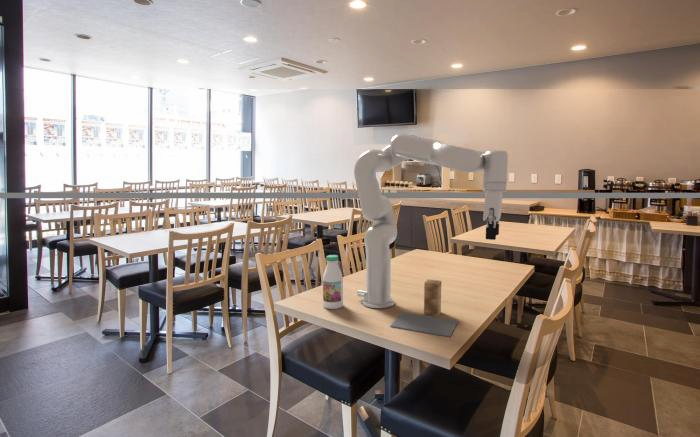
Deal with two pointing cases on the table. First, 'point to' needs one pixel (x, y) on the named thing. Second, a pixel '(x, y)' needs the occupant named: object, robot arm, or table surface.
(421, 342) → the table surface
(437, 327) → the charcoal mat
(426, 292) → the cardboard box
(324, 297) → the milk bottle
